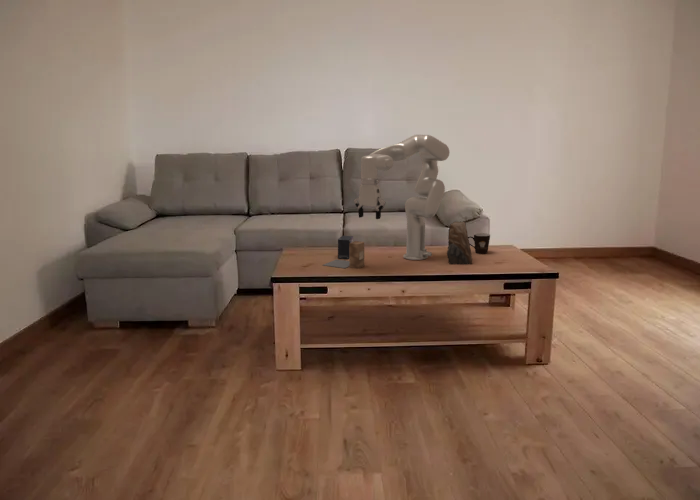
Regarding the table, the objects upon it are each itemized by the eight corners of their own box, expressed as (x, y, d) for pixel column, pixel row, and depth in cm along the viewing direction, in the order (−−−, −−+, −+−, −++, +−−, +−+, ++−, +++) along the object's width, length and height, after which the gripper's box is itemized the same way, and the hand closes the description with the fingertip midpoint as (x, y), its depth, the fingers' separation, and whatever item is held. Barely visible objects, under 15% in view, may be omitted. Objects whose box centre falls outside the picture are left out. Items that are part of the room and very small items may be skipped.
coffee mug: (491, 252, 317) (492, 233, 315) (486, 255, 310) (487, 236, 308) (471, 249, 323) (471, 231, 321) (465, 252, 316) (466, 234, 314)
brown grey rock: (447, 264, 291) (448, 225, 287) (443, 258, 303) (444, 220, 299) (472, 264, 291) (474, 224, 287) (467, 258, 303) (469, 220, 299)
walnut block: (364, 265, 290) (364, 242, 288) (358, 268, 285) (358, 244, 283) (355, 264, 293) (355, 241, 290) (349, 267, 288) (349, 243, 285)
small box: (349, 259, 304) (349, 239, 301) (337, 259, 305) (337, 239, 303) (353, 254, 314) (353, 235, 312) (341, 254, 315) (341, 235, 313)
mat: (358, 262, 296) (358, 262, 296) (344, 268, 285) (344, 267, 285) (336, 260, 303) (336, 259, 303) (322, 265, 292) (322, 264, 292)
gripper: (389, 182, 275) (389, 218, 279) (358, 180, 284) (358, 215, 288) (380, 184, 269) (380, 220, 273) (349, 182, 278) (350, 217, 282)
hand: (369, 218), depth 280 cm, fingers open, 9 cm apart
